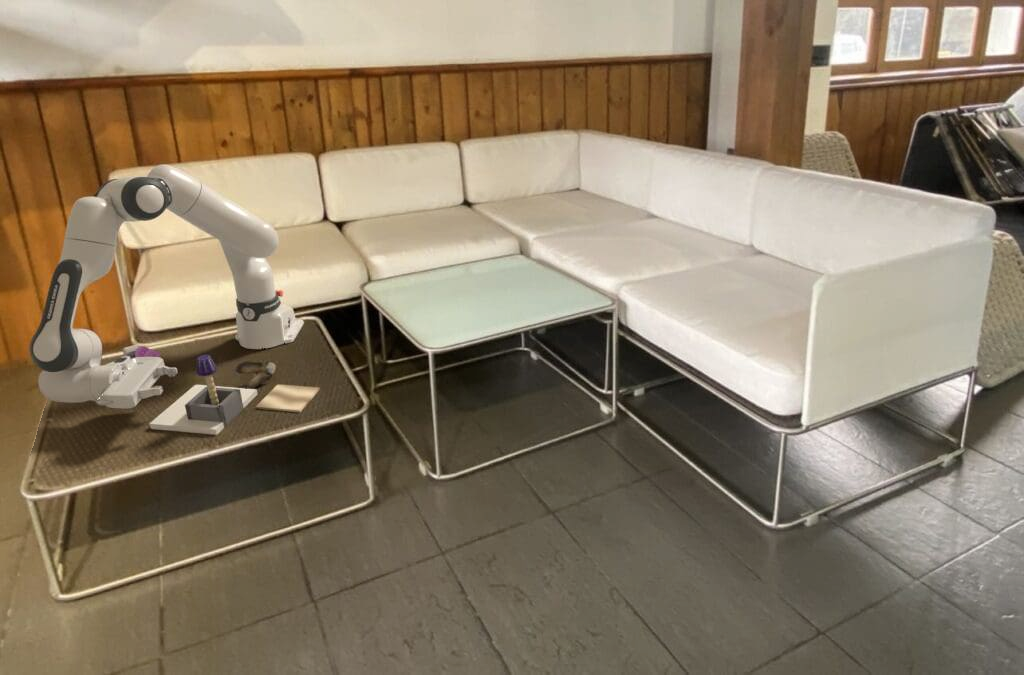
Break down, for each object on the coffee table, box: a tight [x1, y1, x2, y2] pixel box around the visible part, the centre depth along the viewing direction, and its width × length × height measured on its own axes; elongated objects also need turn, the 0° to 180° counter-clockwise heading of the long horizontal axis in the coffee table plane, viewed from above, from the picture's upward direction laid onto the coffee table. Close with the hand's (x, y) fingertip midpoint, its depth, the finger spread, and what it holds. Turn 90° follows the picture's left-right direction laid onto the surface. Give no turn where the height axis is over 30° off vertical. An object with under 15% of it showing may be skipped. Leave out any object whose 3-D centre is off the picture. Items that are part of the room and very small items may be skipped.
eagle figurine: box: [234, 357, 277, 389], centre depth 202 cm, size 8×7×9 cm
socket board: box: [149, 384, 258, 436], centre depth 188 cm, size 20×18×6 cm
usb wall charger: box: [122, 344, 139, 359], centre depth 217 cm, size 4×7×4 cm, turn 39°
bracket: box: [135, 345, 161, 358], centre depth 206 cm, size 13×6×7 cm, turn 148°
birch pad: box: [255, 384, 320, 413], centre depth 194 cm, size 12×12×1 cm
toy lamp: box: [196, 354, 219, 405], centre depth 184 cm, size 5×5×17 cm
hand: (169, 380), depth 183 cm, fingers open, 8 cm apart
